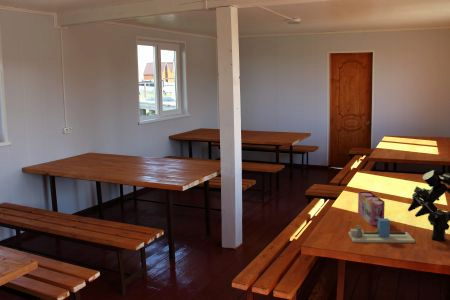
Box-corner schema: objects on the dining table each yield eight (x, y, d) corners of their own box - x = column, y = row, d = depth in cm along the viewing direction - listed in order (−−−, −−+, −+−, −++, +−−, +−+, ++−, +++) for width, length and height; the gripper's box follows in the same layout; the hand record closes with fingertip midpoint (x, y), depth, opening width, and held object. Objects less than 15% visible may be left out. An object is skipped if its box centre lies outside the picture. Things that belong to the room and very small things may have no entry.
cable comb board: (406, 234, 246) (407, 223, 245) (414, 242, 234) (415, 230, 233) (348, 233, 248) (348, 222, 246) (353, 242, 236) (353, 230, 235)
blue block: (387, 233, 242) (387, 218, 241) (389, 236, 238) (390, 221, 237) (377, 233, 243) (377, 218, 241) (379, 236, 238) (380, 221, 237)
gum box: (385, 226, 259) (386, 202, 257) (371, 226, 259) (372, 203, 256) (370, 213, 283) (370, 191, 280) (357, 213, 282) (358, 191, 280)
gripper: (417, 177, 243) (394, 197, 245) (433, 186, 224) (408, 207, 226) (431, 192, 244) (408, 212, 246) (448, 202, 226) (423, 223, 227)
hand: (411, 213), depth 236 cm, fingers open, 9 cm apart
